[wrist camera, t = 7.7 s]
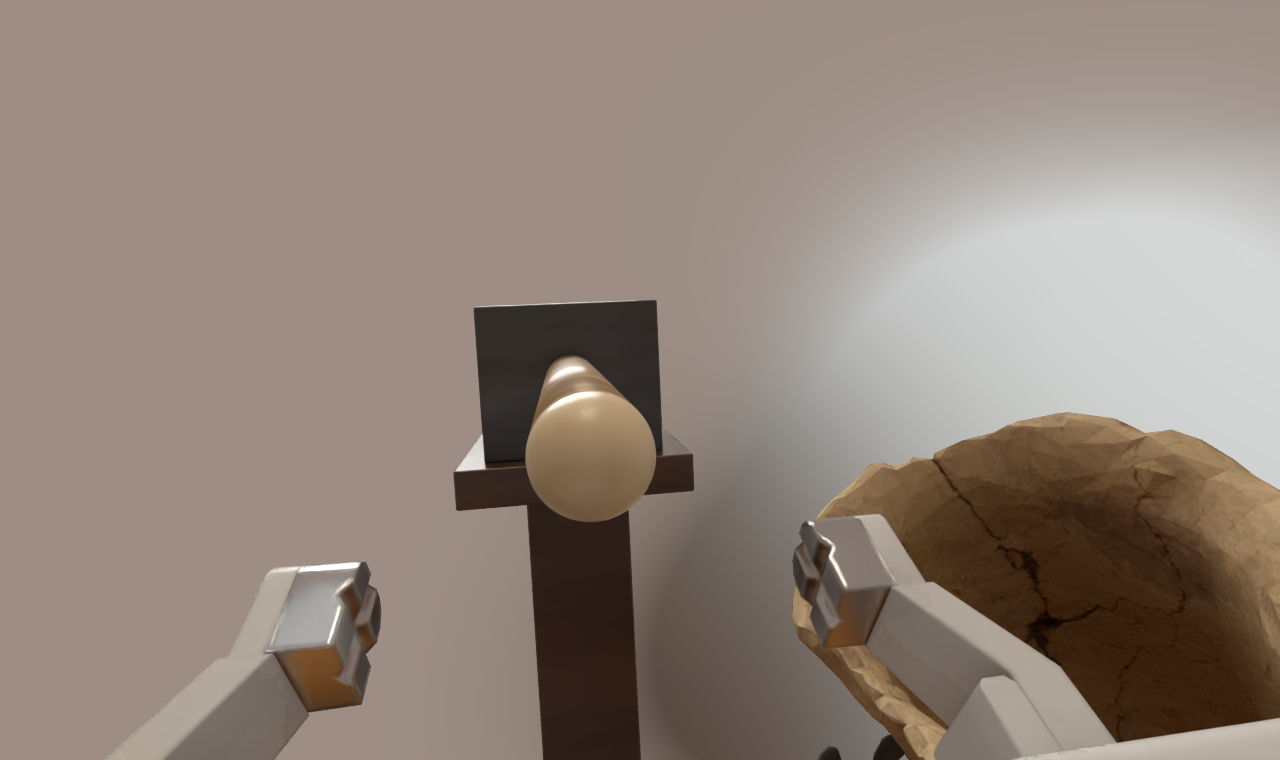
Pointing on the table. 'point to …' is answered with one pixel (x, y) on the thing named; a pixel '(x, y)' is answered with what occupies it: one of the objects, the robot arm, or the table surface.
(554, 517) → the dark brown pedestal stand
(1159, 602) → the clay pot
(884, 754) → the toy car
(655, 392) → the mallet
